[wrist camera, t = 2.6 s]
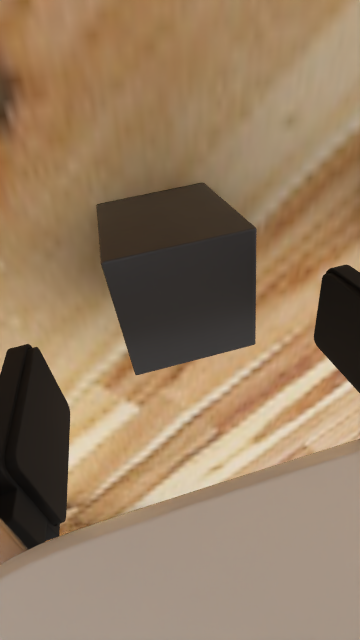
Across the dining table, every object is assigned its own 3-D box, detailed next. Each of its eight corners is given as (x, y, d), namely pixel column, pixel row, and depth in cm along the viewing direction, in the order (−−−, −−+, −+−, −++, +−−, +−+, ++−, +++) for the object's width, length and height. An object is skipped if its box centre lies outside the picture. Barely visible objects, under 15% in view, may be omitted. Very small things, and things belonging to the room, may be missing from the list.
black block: (203, 181, 15) (257, 227, 10) (211, 276, 18) (255, 345, 13) (96, 204, 15) (100, 262, 10) (122, 297, 18) (135, 376, 13)
